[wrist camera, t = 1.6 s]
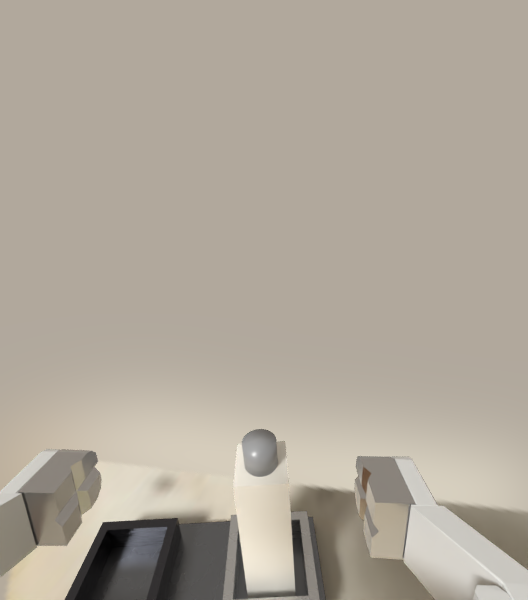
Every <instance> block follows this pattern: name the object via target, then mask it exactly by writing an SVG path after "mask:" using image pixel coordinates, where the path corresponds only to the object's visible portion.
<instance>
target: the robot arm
mask: <svg viewBox="0 0 528 600" xmlns="http://www.w3.org/2000/svg"><path fill="white" fill-rule="evenodd" d="M97 462H98V460H97V455H96V453H95V452H93V451H84V450H56V449H55V450H54V449H46V450H44V451H42V452H40V453H39V454H38V455H37V456H36V457H35V458H34V459H33V460H32V461H31V462H30V463H29V464H28V465H27V466H26V467H25V468H24V469H23V470H22V471H21V472H20V473H18V474H17V475H16V476H15V477H14V478H13V479H12V480H11V481H10V482H9V483H8V484H7V485H6V486H5V487H4V488H3V489H2V490H1V491H0V577H1V576H3V575H4V574H5V573H6V572H8V571H9V570H10V569H11V568H12V567H14V566H15V565H16V564H17V563H19V562H20V561H21V560H22V559H23V558H25V557H26V556H27V555H28V554H29V553H31V552H32V551H33V550H34V549H35V548H36V547H37V546H67V545H68V543H69V541H70V540H71V538H72V537H73V535H74V534H75V532H76V531H77V529H78V528H79V526H80V525H81V523H82V514H84V513H85V512H87V511H88V510H89V509H91V508H92V506H93V505H94V503H95V501H96V500H97V498H98V495H99V492H100V489H101V475H100V472H99V471H98V470H97V469H96V468H95V465H96V464H97ZM356 469H357V472H358V477H357V478H356V479H355V500H356V505H357V510H358V514H359V517H360V518H361V519H362V520H363V521H364V530H363V533H364V536H365V540H366V543H367V547H368V551H369V554H370V557H371V558H385V559H399V560H404V561H403V562H404V563H405V564H406V565H407V567H408V568H409V569H410V570H411V572H412V573H413V574H414V575H415V576H416V578H417V579H418V580H419V581H420V582H421V584H422V585H423V586H424V587H425V588H426V590H427V591H428V592H429V593H430V594H431V596H432V597H433V598H434V599H435V600H528V570H527V569H526V568H524V567H523V566H522V565H520V564H519V563H518V562H517V561H515V560H514V559H513V558H511V557H510V556H509V555H507V554H506V553H505V552H503V551H502V550H501V549H500V548H498V547H497V546H496V545H494V544H493V543H492V542H490V541H489V540H488V539H486V538H485V537H484V536H483V535H481V534H480V533H479V532H477V531H476V530H475V529H473V528H472V527H471V526H469V525H468V524H467V523H466V522H464V521H463V520H462V519H460V518H459V517H458V516H456V515H455V514H454V513H452V512H451V511H450V510H448V509H447V508H446V507H445V506H438V505H437V503H436V501H435V499H434V498H433V496H432V494H431V492H430V490H429V489H428V487H427V485H426V483H425V481H424V480H423V478H422V476H421V474H420V473H419V471H418V469H417V467H416V465H415V464H414V462H413V460H412V459H411V458H410V457H362V456H361V457H360V456H358V457H357V461H356Z"/></svg>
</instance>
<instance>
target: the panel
mask: <svg viewBox="0 0 528 600" xmlns="http://www.w3.org/2000/svg"><path fill="white" fill-rule="evenodd" d="M291 526H292V543H293V560H294V577H295V594H296V596H291V597H271V598H252V599H248V595H247V587H246V580H245V572H244V565H243V558H242V550H241V543H240V535H239V528H238V521H237V515H231V521H228V522H210V523H192V524H179V522H178V518H172V519H154V520H136V521H118V522H103V524H102V526H101V528H100V530H99V532H98V534H97V536H96V538H95V540H94V542H93V544H92V546H91V548H90V550H89V552H88V554H87V556H86V558H85V560H84V562H83V564H82V566H81V568H80V570H79V572H78V574H77V576H76V578H75V580H74V582H73V584H72V586H71V588H70V590H69V592H68V594H67V596H66V598H65V600H326V599H325V593H324V586H323V580H322V574H321V567H320V561H319V555H318V548H317V542H316V536H315V529H314V523H313V517H308V515H307V511H297V512H291Z"/></svg>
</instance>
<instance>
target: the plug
mask: <svg viewBox="0 0 528 600" xmlns="http://www.w3.org/2000/svg"><path fill="white" fill-rule="evenodd" d="M233 491H234V498H235V506H236V513H237V521H238V528H239V535H240V543H241V550H242V558H243V565H244V572H245V580H246V587H247V595H248V599H252V598H271V597H291V596H296V594H295V577H294V560H293V543H292V526H291V509H290V492H289V479H288V469H287V457H286V446H285V441H282V442H276V437H275V435H274V434H273V433H272V432H270V431H268V430H264V429H258V430H254V431H251V432H249V433H247V434H246V435H245V436H244V438H243V441H242V444H237V453H236V463H235V472H234V482H233Z"/></svg>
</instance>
